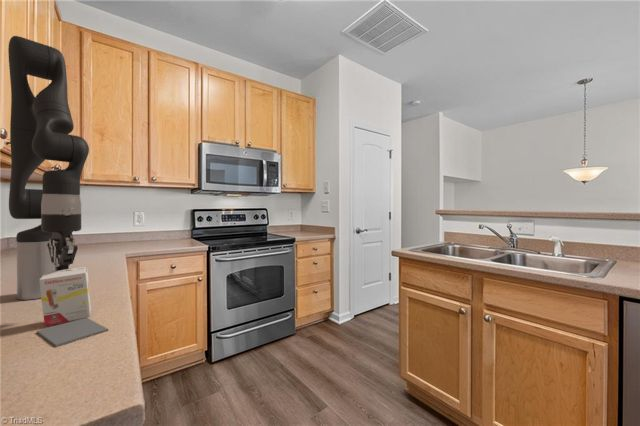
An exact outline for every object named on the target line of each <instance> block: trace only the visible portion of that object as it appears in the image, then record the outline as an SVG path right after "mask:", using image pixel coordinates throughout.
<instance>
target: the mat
mask: <svg viewBox="0 0 640 426" xmlns="http://www.w3.org/2000/svg"><path fill="white" fill-rule="evenodd" d="M105 331H106V332H108V331H109V328H107V327H105V326H104V325H102V324H100V323H97V322H96V321H94V320H92V319H90V318H89V317H86V318H82V319H77V320H73V321H69V322H64V323H60V324H56V325H52V326H48V327H46V328H42V329H39V330H36V333H37V334H38V335H40V336H41V337H42V338H43V339H45V340H47V341H48V342H49V343H50V344H52V345H53V346H55V348H57V347H60V346H63V345H67V344H69V343H73V342H76V340H77V341H79V339H80V340H83V339H86V338H90V337H93V336H95V335H98V334H99V335H100V334H102V333H105ZM92 335H93V336H92ZM89 336H90V337H89ZM85 337H86V338H85ZM72 341H73V342H72Z"/></svg>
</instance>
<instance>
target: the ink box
mask: <svg viewBox="0 0 640 426" xmlns="http://www.w3.org/2000/svg"><path fill="white" fill-rule="evenodd" d="M39 281H40V291H41V298H40V299H41V307H42V314H43V322H44V323H43V324H44V327H46V328H48V327H52V326H57V325H60V324H64V323H68V322H72V321H76V320H79V319H83V318H89V317H91V314H92V308H91V297H90V295H91V294H90V281H89V274H88V267H87V266H81V267H73V268H69V269H65V270H58V271H51V272H45V273H44V274H42V275H41V277H40V280H39Z"/></svg>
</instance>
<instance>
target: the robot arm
mask: <svg viewBox="0 0 640 426" xmlns="http://www.w3.org/2000/svg"><path fill="white" fill-rule="evenodd" d="M9 39H10V40H9V41H8V46H7V47H8V50H7V51H8V53H7V54H8V67H9V68H8V69H9V79H10V80H9V81H10V98H11V99H10V100H11V101H10V102H11V103H10V104H11V105H10V125H9V128H10V129H9V130H10V131H9V133H10V136H9V137H10V138H9V141H10V160H11V161H10V162H11V164H10V165H11V167H10V169H11V170H10V181H9V195H8V211H9V215H10V216H11V218H12V219H15V220H39V219H40V224H39V225H37V226H35V227H33V228H29V229H25V230H22V231H19V232H17V233H16V237H15V239H16V242H15V243H16V298H17V300H20V301H21V300H23V301H24V300H25V301H26V300H35V299H41V291H40V281H39V280H40V277H41V275H42V274H44V273H45V272H51V271H58V270H65V269H70V268H69V267H70V266H71V265H73V264H74V261H75V257H76V254H77V251H78V245H76V244H75V243H76V242H75V241H76V240H75V238H74V236H73V232H80V231H81V230H82V201H81V177H82V173H83V169H84V166H85V164H86V161H87V159H88V155H89V152H90V150H89V149H90V148H89V144H88V142H87V141H86V139H84V138H83V137H81V136H79V135H74V134H71V133H72V132H73V130H74V121H73V118H72V113H71V110H70V107H69V99H68V97H69V96H68V78H67V77H68V76H67V65H66V61H65V57H64V54H63V53H62V52H61V51H60V50H59V49H57V48H55V47H52V46H50V45H47V44H44V43H40V42H37V41H35V40H32V39H28V38H25V37H23V36H18V35H13V36H12V37H10V38H9ZM28 76H31V77H36V78H39V79H43V80H47V81H51V82H50V83H49V84H48V85H47V86H46V87H44V88H43V89H41V90H40V91H39V92H38V93H37V94H36V95H34V93H33V91H32V89H31V87H30V84H29V79H28ZM46 160H47V161H54V162H63V163H68V165H67V167H66V168H64V169H55V170H54V169H53V170H52V169H51V170H47V171H44V172H43V174H42V189H38V188H37V189H35V188H26V185H27V183H28V181H29V179H30V177H31V176H32V175H33V173H34V172H35V171H36V170H37V168H39V166H41V165H42V163H44V162H45V161H46Z"/></svg>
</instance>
